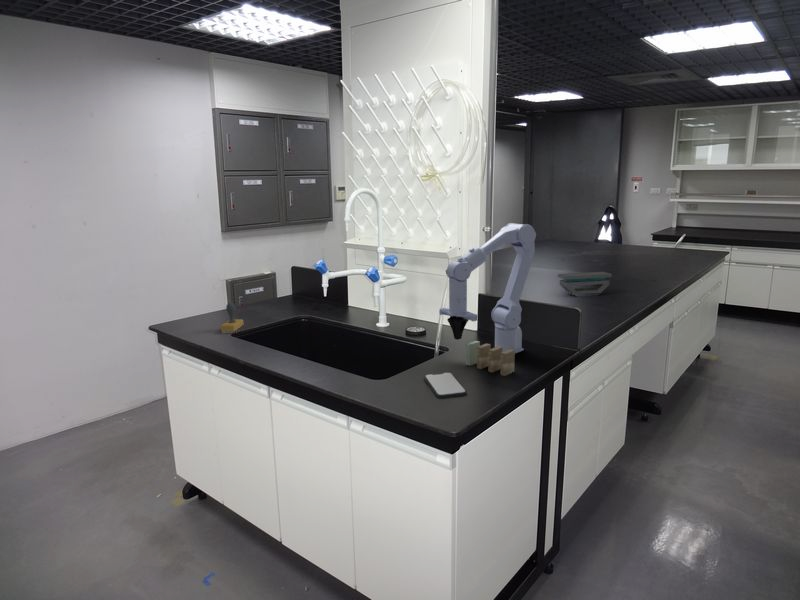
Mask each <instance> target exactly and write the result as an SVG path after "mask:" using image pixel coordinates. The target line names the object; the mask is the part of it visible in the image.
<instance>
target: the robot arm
mask: <svg viewBox="0 0 800 600" xmlns="http://www.w3.org/2000/svg"><path fill="white" fill-rule="evenodd" d="M536 236H537V233H536V231H535V228H534V227H533V226H532V225H530V224H528V223H525V224H523V223H521V224H520V223H515V222H509V223H507V224H506V225H505V226H503V227H501V229H500V230H499V231H498V232H497V233H496V234H495V235H494V236H492V237H491V238H490V239H489V240H488V241H486V242H485V243H484V244H483V245H481V246H480V247H476V246H475V247H470V248H469V249H468V252H467V253H465V254H464V255H463V256H459V257H458V258H457V260H455V261H451V262H450V263H449V264H448V266H447V268H446V269H445V274H446V276H447V277H448V287H449V288H448V292H449V293H448V299H449V300H448V303H449V304H448V307H447V308H445V307H442V308H439V311H438V313H439V315H441V316H442V315H443V316H444V315H445V316H447V323H448V324H449V325H450V328H451V330H452V333H453V339H454V340H456V341H457V340H461V339H462V337H463V334H464V330H465V327H466V326H467V324H468V322H469V321H471V322H476V321H478V314H476V313H473V312H470V311H467V310H468V307H467V306H468V279H469V278H470V276H471V273H472V272H473V271H475V269H477V268H479V267H480V266H481V265H482V264H484V263H485V262H486V261H487V257H488V256H489V255H490V254H492V253H493V252H495V251H496V250H499V248H501V247H502V246H504V245H505V244H510V245H511V246H512V247H513V248H514V251H515V252H516V256H515V259H514V261H513V265H512V268H511V271H510V275H509V278H508V281H507V283H506V287H505V289H504V293H503V297H501V298H499V300H497V302H496V305H495V307H493V309H492V310H491V313H490V314H491V316H490V317H491V320H492V321H493V322H494V348H495V347H497V346H500V347H503V348H502V352H504V351H507V350H509V349H512V350H515V354H517V353H520V352H522V351H524V350H525V349H524V348H523V347H522V345H523V344H522V340H523V338H522V337H523V332H522V328H521V327H520V326H519V325H520V324H521V321H522V311H523V308H522V306H521V303H520V300H521V297H522V293H523V290H524V287H525V285H526V280H527V278H528V274H529V272H530V268H531V265H532V261H533V259H534V256H535V251H536V248H535V240H536Z"/></svg>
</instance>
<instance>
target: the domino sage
mask: <svg viewBox="0 0 800 600" xmlns="http://www.w3.org/2000/svg"><path fill="white" fill-rule="evenodd" d="M478 346H481V342H480V341H478V340H474V341H471V342H467V343H465V366H468V365H469V367H470V365H471V366H474V365H475V364H476V365H477V347H478Z"/></svg>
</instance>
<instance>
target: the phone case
mask: <svg viewBox="0 0 800 600" xmlns="http://www.w3.org/2000/svg"><path fill="white" fill-rule="evenodd" d="M423 377H424V382H426V385H428V387H429V388H430V390H431V391H432V393H433V395H435V397H436V398H437V399H447V398H448V399H449V398H457V397H465V396H467V395H468V393H467V392H468V391H467V390H466V389H465V387H464V386H463V385H462V384H461V383H460V382H459V380H458V379H457V377H455V375H454V374H453V373H451V372H440V373H438V372H437V373H430V374H425V375H424V376H423Z"/></svg>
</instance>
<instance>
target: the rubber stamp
mask: <svg viewBox="0 0 800 600" xmlns="http://www.w3.org/2000/svg"><path fill="white" fill-rule="evenodd" d="M225 309H226V311H227V314H228V315H229V320H227V321H226V322H224V323H222V324H221V325H220V330H221V331H235V330H237V329H238V328H240V327H241V326H242V325H244V320H243V318H242V319H238V318H237V319H235V318H234V316H235V312H236V305H235V304H234V303H233V302H228V303H227V304H226V307H225ZM244 326H245V325H244ZM221 331H220V332H221Z"/></svg>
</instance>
